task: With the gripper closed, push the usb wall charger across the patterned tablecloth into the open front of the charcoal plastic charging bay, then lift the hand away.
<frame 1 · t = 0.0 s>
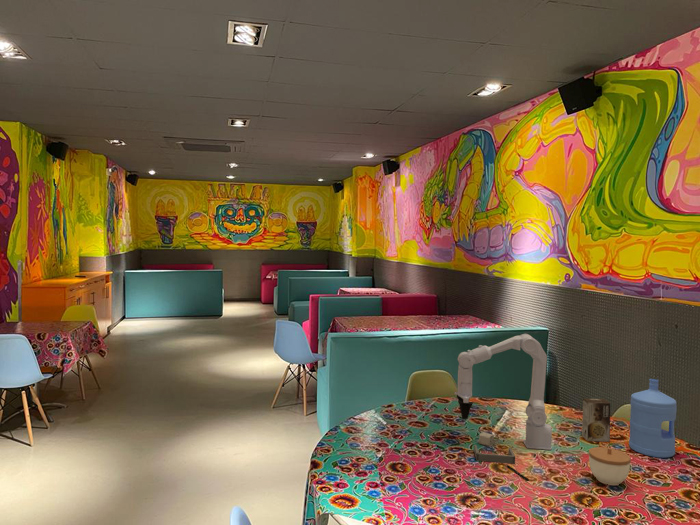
hand: (464, 415, 206), 10 cm above the table, tool pointing down, fingers open, 7 cm apart
usb wall charger: (489, 445, 202), on the table
water jug: (651, 451, 200), on the table
charging bay: (493, 456, 190), on the table
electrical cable: (516, 474, 176), on the table
lidded bowl: (608, 481, 172), on the table
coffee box: (595, 439, 211), on the table
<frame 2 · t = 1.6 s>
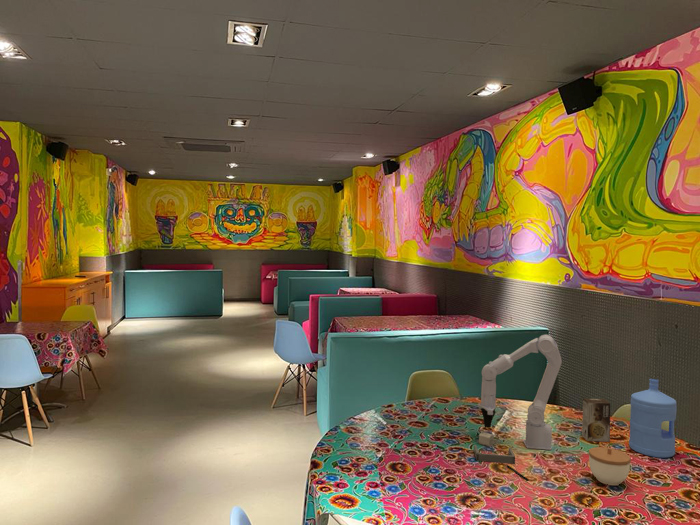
hand: (487, 426, 208), 5 cm above the table, tool pointing down, fingers closed
nothing on the table moved.
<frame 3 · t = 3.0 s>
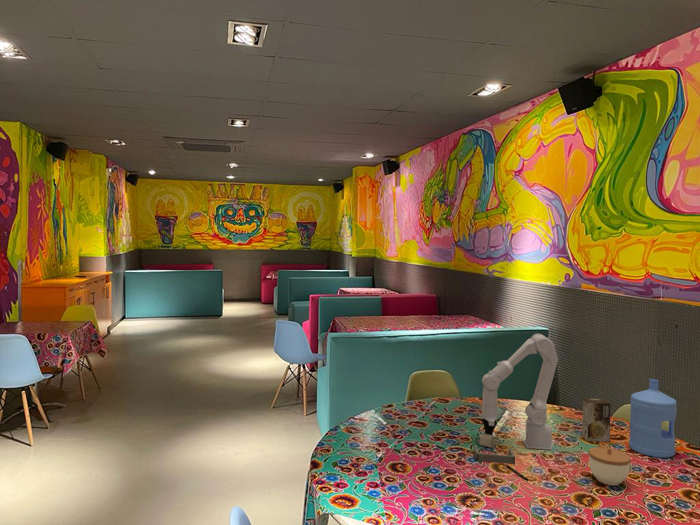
hand: (488, 437, 204), 2 cm above the table, tool pointing down, fingers closed
usb wall charger: (489, 446, 200), on the table, touching gripper
everything else where it was.
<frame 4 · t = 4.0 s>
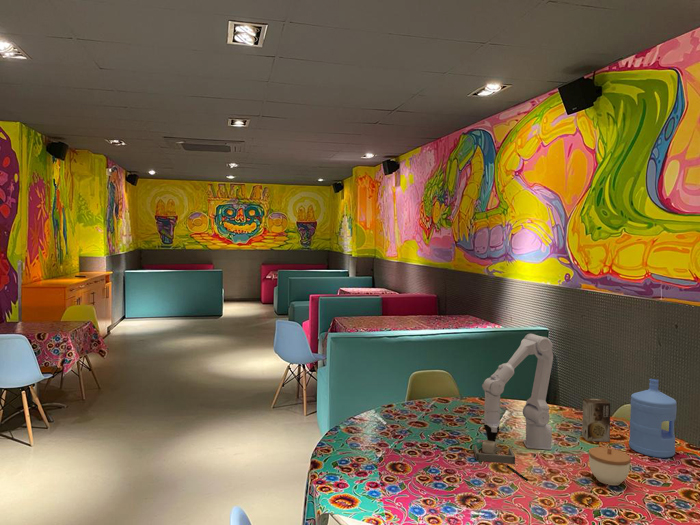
hand: (491, 444, 197), 2 cm above the table, tool pointing down, fingers closed
usb wall charger: (492, 453, 193), on the table, touching gripper
everything else where it was.
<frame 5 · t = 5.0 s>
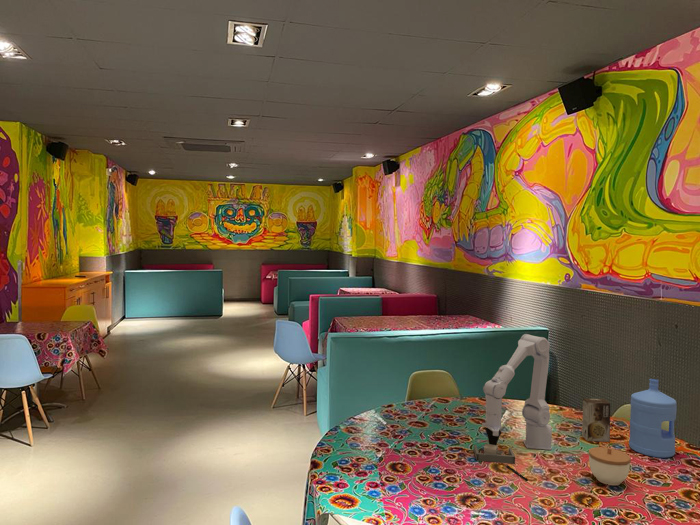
hand: (492, 448, 193), 2 cm above the table, tool pointing down, fingers closed
usb wall charger: (494, 457, 190), on the table, touching gripper
everything else where it was.
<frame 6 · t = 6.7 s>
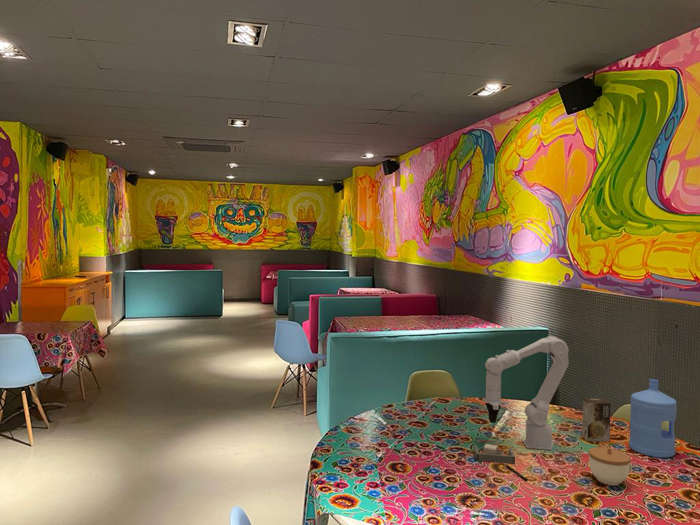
hand: (492, 422, 203), 9 cm above the table, tool pointing down, fingers closed
usb wall charger: (494, 457, 190), on the table
everything else where it was.
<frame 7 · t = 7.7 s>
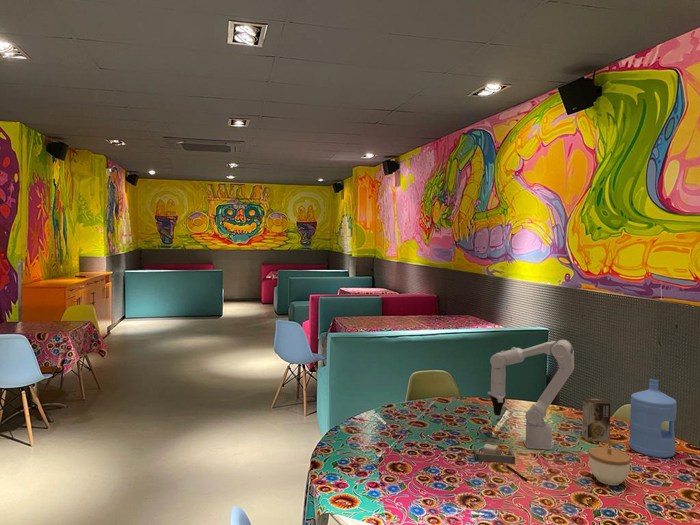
hand: (497, 414, 210), 9 cm above the table, tool pointing down, fingers closed
nothing on the table moved.
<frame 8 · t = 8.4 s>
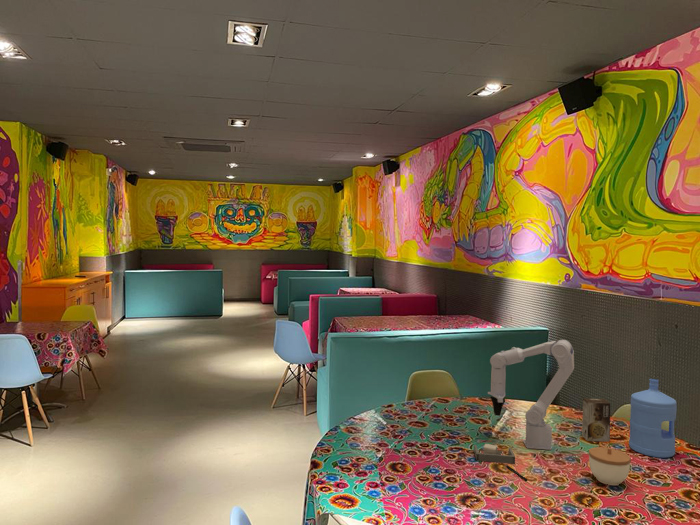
hand: (497, 414, 210), 9 cm above the table, tool pointing down, fingers closed
nothing on the table moved.
at the end: usb wall charger inside the target area on the charging bay (0.0 cm from its centre), point 0.0 cm above the charging bay's base; the gripper is holding nothing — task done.
